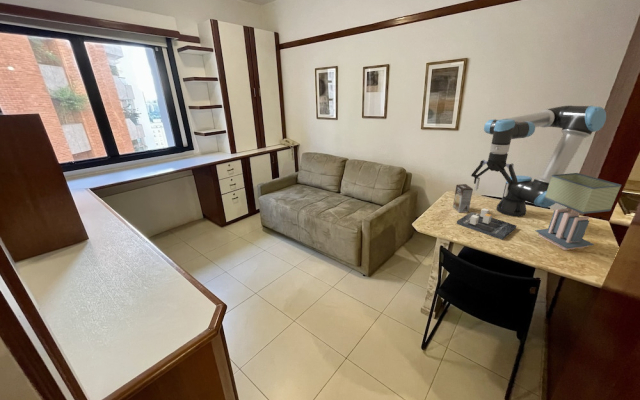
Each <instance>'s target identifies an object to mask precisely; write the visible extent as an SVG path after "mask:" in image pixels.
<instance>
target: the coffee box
mask: <svg viewBox="0 0 640 400" xmlns="http://www.w3.org/2000/svg"><path fill="white" fill-rule="evenodd" d="M473 191H474V190H473V187H471V186H469V185H468V184H466V183H464V184H463V183H462V184H461V183H460V184H456V186H455V193H454V198H453V203H452V208H454V209H455V210H456V211H457V212H458V213H469V211H470V205H471V201H472V195H473Z"/></svg>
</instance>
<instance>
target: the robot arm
mask: <svg viewBox="0 0 640 400" xmlns="http://www.w3.org/2000/svg"><path fill="white" fill-rule="evenodd" d="M606 120H607V113H606V110H605V108H603V107H601V106H595V105H594V106H593V105H562V106H555V107H551V108H546V109H542V110H540V111H539V112H535V113H529V114H523V115H518V116H513V117H508V118H502V119H496V118H495V119H489V120H487V121H486V122H485V123H484V127H483V131H484V133H486V134H489V135H492V138H491V139H492V140H491V144H490V149H489V154H488V159H487V160H485V159H482V160H480V163H479V165H478V166H477V167H476V169H474V170H473V172H472V173H471V174H470V176H471V177H473V178H474V179H473V184H475V186H474V191H477V190H478V189H479V185H480V180H481V176H482V175H484V174H485V173H486V172H487V171H489V170H490V171H491V172H493V171H494V172H497V173H498V172H499V173H500V174H501V175H502V176H503V178H504V180H505V186H504V189H503V192H502V193H503V194H502V198H501V200H499V202H498V203H497V205H496V211H497V212H498V213H501V214H503V215H506V216H509V217H524V216H526V215H527V206H526V202H527V203H530V204H533V205H534V206H537V207H541V208H550V207H552V206H554V205H555V204H556V203H555V202H552V201H550V200H547V199H545V196H546V193H547V189H548V186H549V183H550V180H551V177H552V175H559V174H565V172H566V170H567V169H568V167H569V165H570V163H571V162H572V161H573V159H574V157H575V155H576V153H577V152H578V149H580V147H581V145H582V143H583V141H584V140H585V139H586V138H588V137H589V138H590V137H591V136H592V134H593V133H594V132H595V133H596V132H599V131H600V130H601V129H603V127H604V125H605V123H606ZM539 127H540V128H557V129H561V133H562V136H561V137H560V138H559V141H558V142H557V144H556V146H555V148H554V150H553V152H552V154H551V155H550V157H549V159H548V161H547V163H546V165H545V166H544V168H543V170H542V171H541V174H540V175H539V176H537V177H535V178H534V179H533V177H532V176H528V175H516V172H515V170H514V166H515V165H514V163H507V159H508V156H509V151H510V146H511V141H512V140H517V139H525V138H528V137H531V136H532V135H534V133H535V131H536V128H539ZM485 165H487V167H486V168H484V170H481V169H482V168H483V166H485ZM505 168H507V169H508V172H507V171H506V169H505ZM480 170H481V171H480ZM479 171H480V172H479ZM478 172H479V173H478ZM508 173H509V174H508Z"/></svg>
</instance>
